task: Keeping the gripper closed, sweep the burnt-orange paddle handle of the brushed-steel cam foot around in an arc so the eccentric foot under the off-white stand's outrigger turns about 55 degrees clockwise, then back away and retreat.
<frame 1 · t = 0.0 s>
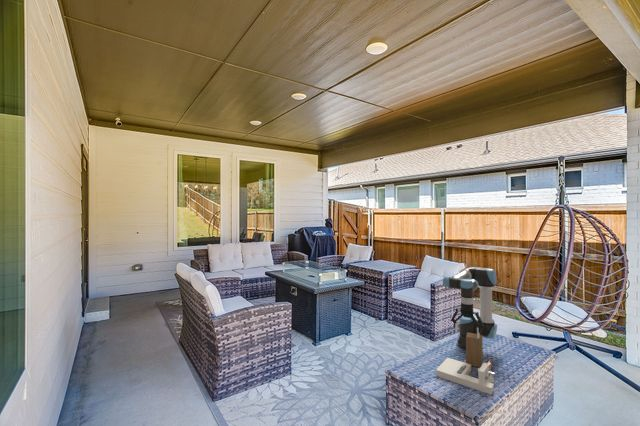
hand: (467, 335, 204), 28 cm above the table, fingers open, 13 cm apart
cam foot: (487, 371, 201), point 5 cm above the table, hinge at 0.0°
stand: (454, 373, 209), on the table
wooden block: (474, 363, 222), on the table
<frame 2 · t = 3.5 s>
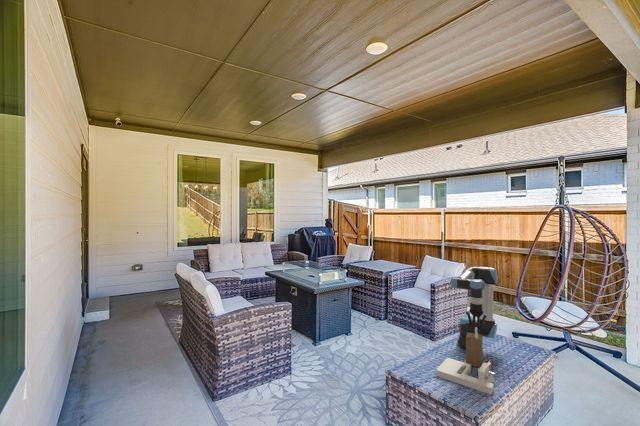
hand: (476, 337, 209), 24 cm above the table, fingers closed
nothing on the table moved.
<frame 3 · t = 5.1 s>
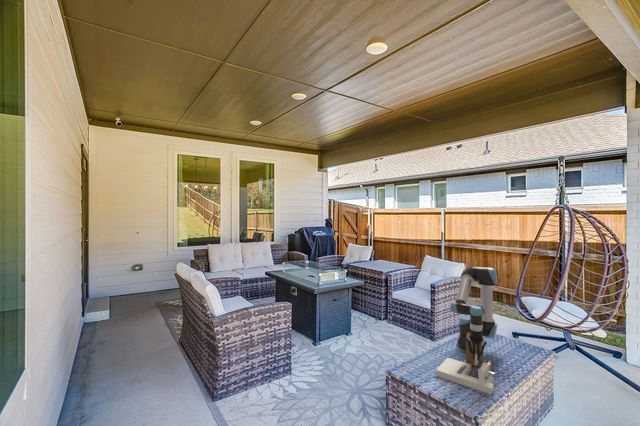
hand: (476, 364, 209), 6 cm above the table, fingers closed
nothing on the table moved.
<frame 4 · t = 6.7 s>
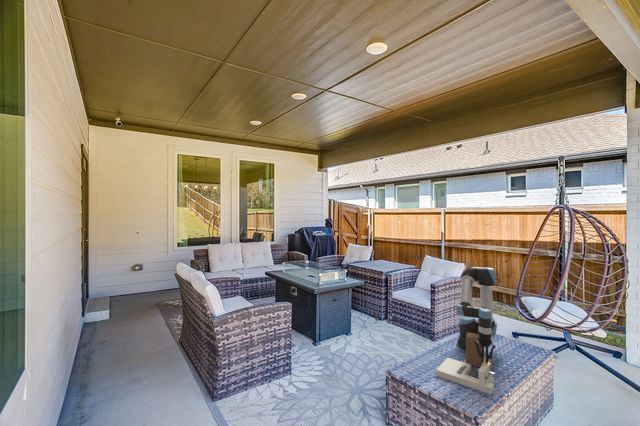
hand: (484, 367, 206), 5 cm above the table, fingers closed
cam foot: (487, 371, 201), point 5 cm above the table, hinge at -0.4°, touching gripper
everything else where it was.
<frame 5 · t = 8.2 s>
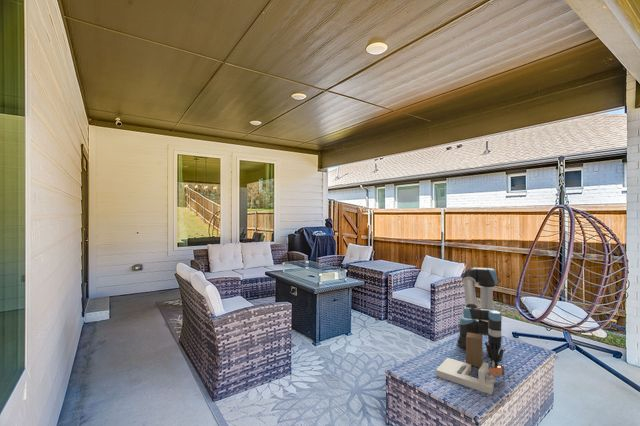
hand: (494, 370, 202), 5 cm above the table, fingers closed
cam foot: (491, 373, 199), point 5 cm above the table, hinge at -37.5°, touching gripper
everything else where it was.
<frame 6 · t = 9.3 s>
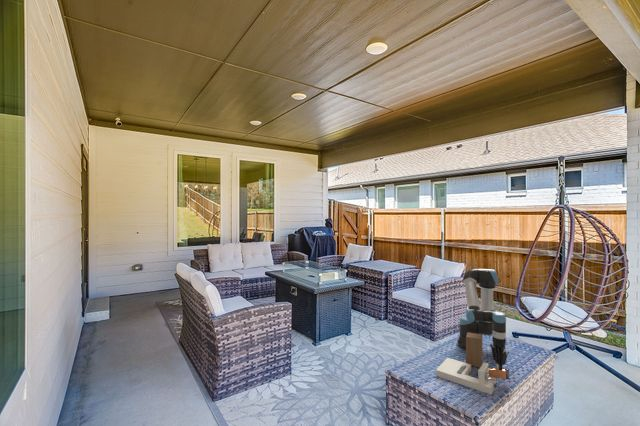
hand: (499, 373, 199), 5 cm above the table, fingers closed
cam foot: (492, 375, 197), point 5 cm above the table, hinge at -60.2°, touching gripper
everything else where it was.
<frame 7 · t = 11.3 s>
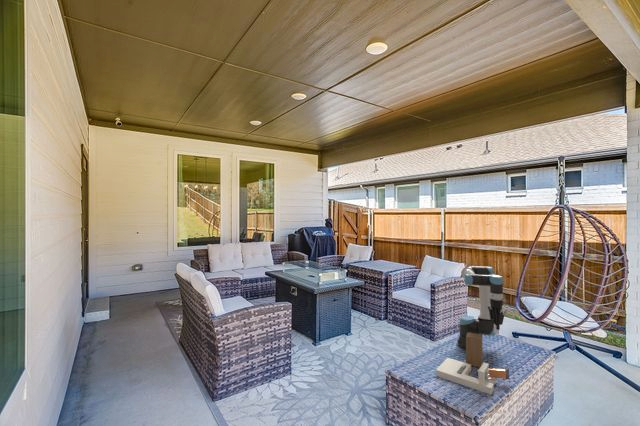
hand: (496, 333, 206), 28 cm above the table, fingers closed
cam foot: (492, 375, 197), point 5 cm above the table, hinge at -60.5°
everything else where it was.
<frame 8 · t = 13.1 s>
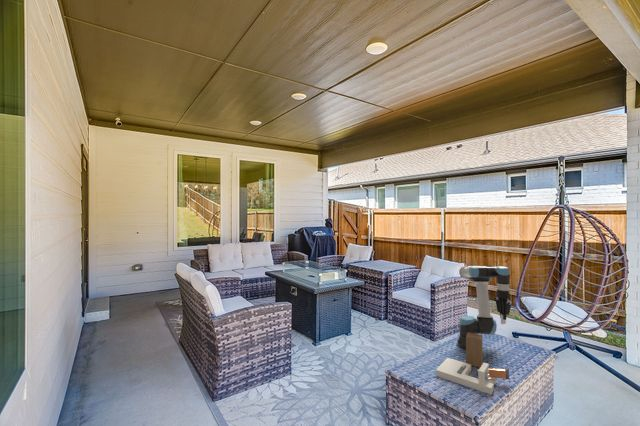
hand: (503, 323, 211), 32 cm above the table, fingers closed
nothing on the table moved.
at the end: cam foot at -60° (first picture: +0°) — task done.
